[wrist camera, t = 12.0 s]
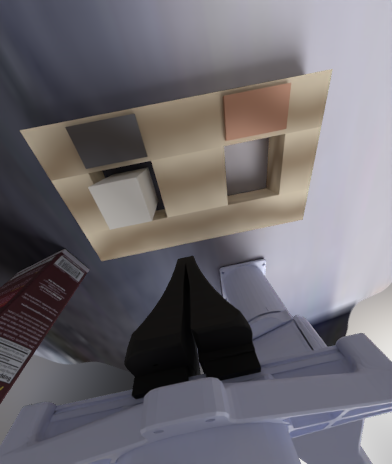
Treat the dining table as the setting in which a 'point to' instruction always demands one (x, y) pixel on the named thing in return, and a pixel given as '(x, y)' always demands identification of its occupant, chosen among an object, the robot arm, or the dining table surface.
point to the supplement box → (33, 310)
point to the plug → (126, 198)
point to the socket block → (190, 161)
